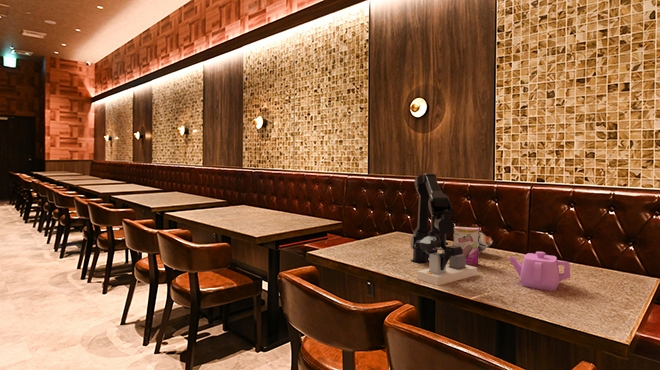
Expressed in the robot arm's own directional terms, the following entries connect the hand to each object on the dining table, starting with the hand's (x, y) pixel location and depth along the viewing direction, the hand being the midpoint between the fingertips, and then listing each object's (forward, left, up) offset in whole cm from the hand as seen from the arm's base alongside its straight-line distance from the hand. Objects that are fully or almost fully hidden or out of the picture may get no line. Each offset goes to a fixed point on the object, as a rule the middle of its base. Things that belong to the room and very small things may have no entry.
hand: (437, 269), depth 156 cm
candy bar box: (-10, +31, -5) cm, 33 cm away
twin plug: (0, +12, -4) cm, 13 cm away
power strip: (0, +6, -4) cm, 8 cm away
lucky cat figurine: (-21, +52, -5) cm, 57 cm away
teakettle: (+24, +29, -5) cm, 38 cm away
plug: (0, 0, -2) cm, 2 cm away
